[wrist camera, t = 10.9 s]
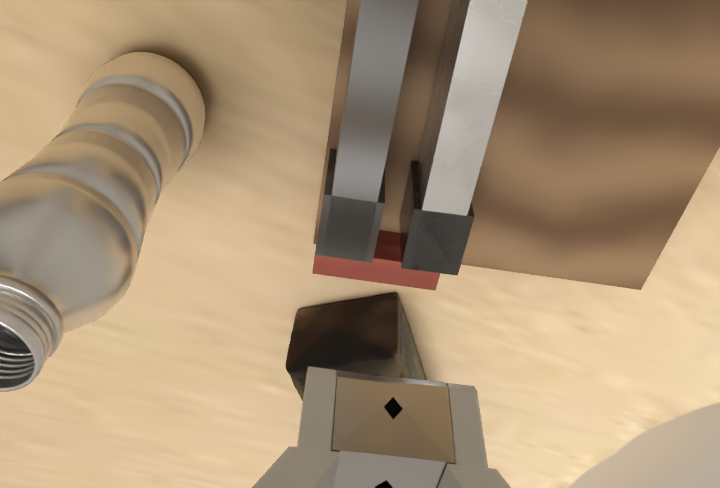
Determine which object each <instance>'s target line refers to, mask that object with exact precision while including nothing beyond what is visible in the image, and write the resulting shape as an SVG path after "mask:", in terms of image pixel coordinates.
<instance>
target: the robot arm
mask: <svg viewBox="0 0 720 488" xmlns="http://www.w3.org/2000/svg"><path fill="white" fill-rule="evenodd" d="M252 488H511V487H510V486H509V484H508V483H507V482H506V481H505V479H504V478H503V477H502V476H501V474H500V473H499V472H498V471H497V469H492V468H488V464H487V457H486V450H485V443H484V436H483V429H482V422H481V415H480V408H479V401H478V394H477V390H476V389H475V387H474V386H468V385H459V384H451V383H446V384H445V382H438V381H428V380H418V379H409V378H399V377H391V378H390V377H383V376H376V375H369V374H362V373H355V372H348V371H341V370H337V371H336V370H332V369H325V368H317V367H308V370H307V375H306V382H305V389H304V397H303V404H302V411H301V419H300V426H299V433H298V441H297V447H288V448H287V449H286V451H285V452H284V453H283V454H282V455H281V456H280V457H279V458H278V459H277V461H276V462H275V463H274V464H273V465H272V466H271V467H270V468H269V469H268V471H267V472H266V473H265V474H264V475H263V476H262V477H261V478H260V479H259V480H258V482H257V483H256V484H255V485H254V486H253V487H252Z"/></svg>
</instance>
